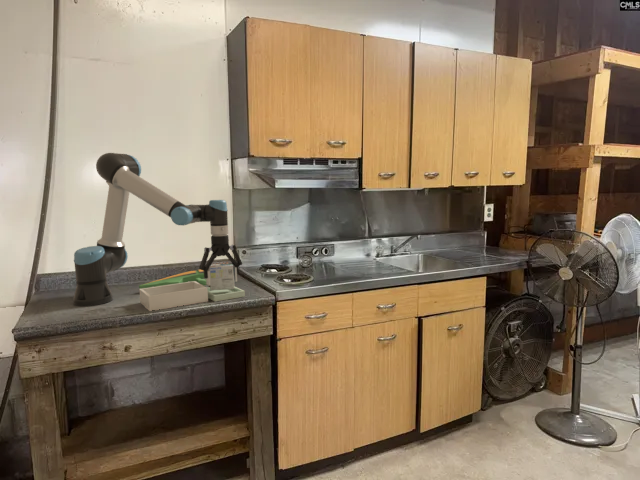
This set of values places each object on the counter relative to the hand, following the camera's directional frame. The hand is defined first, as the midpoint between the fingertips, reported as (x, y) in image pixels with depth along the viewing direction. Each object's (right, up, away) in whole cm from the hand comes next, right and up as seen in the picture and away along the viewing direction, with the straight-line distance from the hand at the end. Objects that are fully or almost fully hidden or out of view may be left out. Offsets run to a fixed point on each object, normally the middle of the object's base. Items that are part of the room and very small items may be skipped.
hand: (222, 283), depth 200 cm
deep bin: (-18, -7, -9) cm, 22 cm away
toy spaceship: (-27, -4, +17) cm, 32 cm away
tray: (0, -5, +1) cm, 6 cm away
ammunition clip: (-5, -4, +17) cm, 18 cm away
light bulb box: (0, -3, 0) cm, 3 cm away
